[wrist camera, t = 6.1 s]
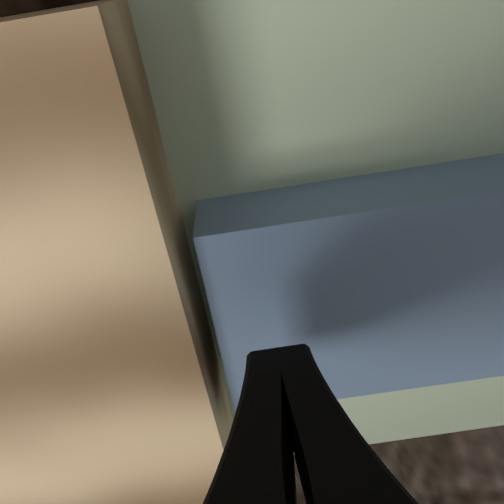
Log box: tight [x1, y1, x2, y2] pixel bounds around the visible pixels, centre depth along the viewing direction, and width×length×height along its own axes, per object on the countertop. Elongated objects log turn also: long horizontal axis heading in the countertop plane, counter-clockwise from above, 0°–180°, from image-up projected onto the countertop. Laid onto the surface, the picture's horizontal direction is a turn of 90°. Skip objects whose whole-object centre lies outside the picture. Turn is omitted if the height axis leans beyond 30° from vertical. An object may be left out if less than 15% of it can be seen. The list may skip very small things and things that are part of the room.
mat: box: [127, 0, 504, 444], centre depth 14 cm, size 16×12×1 cm
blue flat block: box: [193, 153, 504, 413], centre depth 13 cm, size 6×9×2 cm, turn 98°
